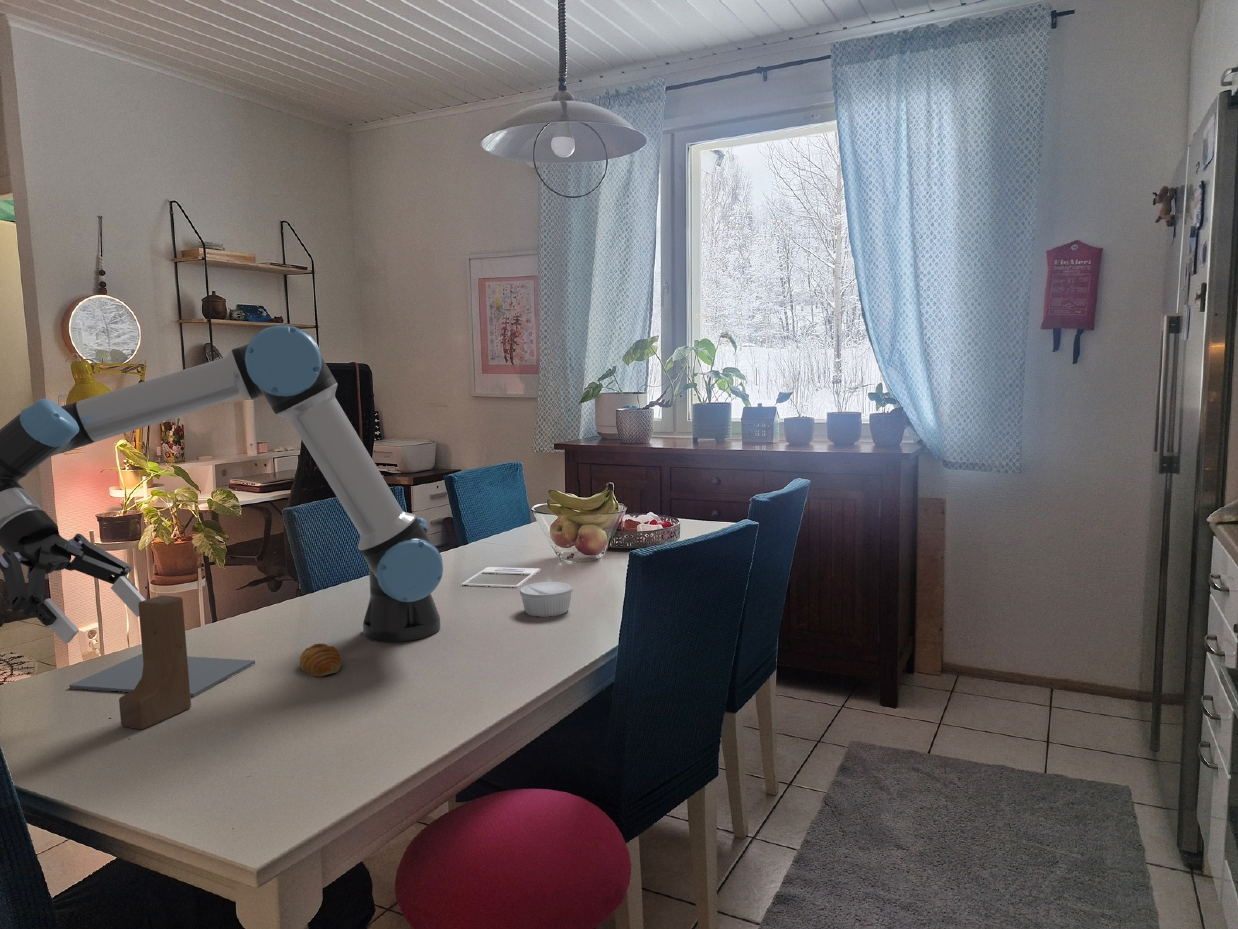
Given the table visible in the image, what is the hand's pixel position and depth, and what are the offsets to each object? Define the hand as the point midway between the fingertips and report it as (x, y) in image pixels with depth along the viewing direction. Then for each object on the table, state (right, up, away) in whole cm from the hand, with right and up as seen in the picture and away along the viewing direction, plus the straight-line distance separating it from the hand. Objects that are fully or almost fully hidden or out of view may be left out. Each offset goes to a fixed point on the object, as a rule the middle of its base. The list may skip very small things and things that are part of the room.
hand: (110, 623), depth 128 cm
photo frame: (+48, -5, +85) cm, 97 cm away
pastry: (+25, -12, +21) cm, 35 cm away
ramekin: (+62, -8, +54) cm, 83 cm away
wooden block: (+7, -15, +1) cm, 16 cm away
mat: (-2, -13, +19) cm, 23 cm away
